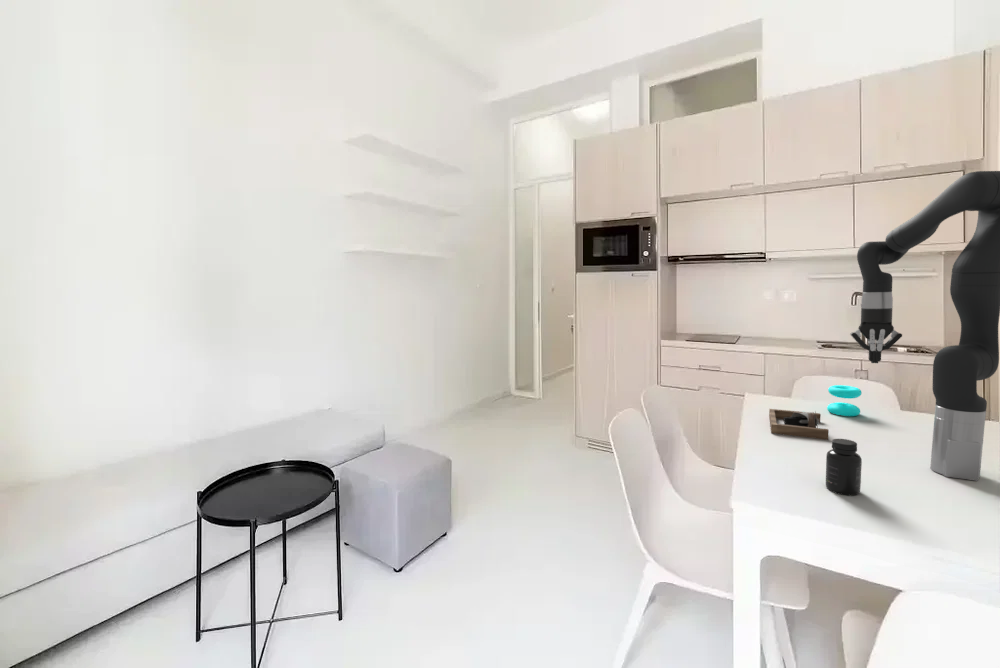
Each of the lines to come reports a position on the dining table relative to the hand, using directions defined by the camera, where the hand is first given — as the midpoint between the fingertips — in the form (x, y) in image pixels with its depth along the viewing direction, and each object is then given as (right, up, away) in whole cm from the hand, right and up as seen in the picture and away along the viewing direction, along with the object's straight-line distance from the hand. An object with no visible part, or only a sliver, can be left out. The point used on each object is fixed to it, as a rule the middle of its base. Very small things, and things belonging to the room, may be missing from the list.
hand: (874, 362), depth 145 cm
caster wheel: (-15, -23, +13) cm, 31 cm away
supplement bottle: (-34, -29, -33) cm, 55 cm away
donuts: (+12, -21, +30) cm, 38 cm away
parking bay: (-14, -23, +14) cm, 31 cm away
